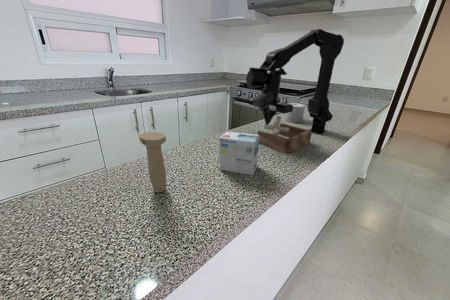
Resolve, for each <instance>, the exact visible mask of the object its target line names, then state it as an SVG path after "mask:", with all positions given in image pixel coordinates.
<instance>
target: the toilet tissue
mask: <svg viewBox="0 0 450 300" xmlns="http://www.w3.org/2000/svg"><path fill="white" fill-rule="evenodd" d="M287 103H288V102H287ZM288 104H292V105H293V112H289V113H284V121H285V120H286V121H285V122H288V123H292V124H296V123H297V124H299V123H302V122H303V120H304V116H305V115H304V114H305V109H306V105H305V104H304V103H297V102H291V103H288Z"/></svg>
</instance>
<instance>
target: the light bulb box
mask: <svg viewBox="0 0 450 300" xmlns="http://www.w3.org/2000/svg"><path fill="white" fill-rule="evenodd" d="M259 144H260V143H259V135H257V134H255V133H254V134H253V133H243V132H234V131H226V132H224V134H221V136H220V137H219V170H220V171H226V172H230V173H237V174H243V175H249V176H254V174H255V171H256V170H257V168H258V159H259V146H260V145H259Z"/></svg>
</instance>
